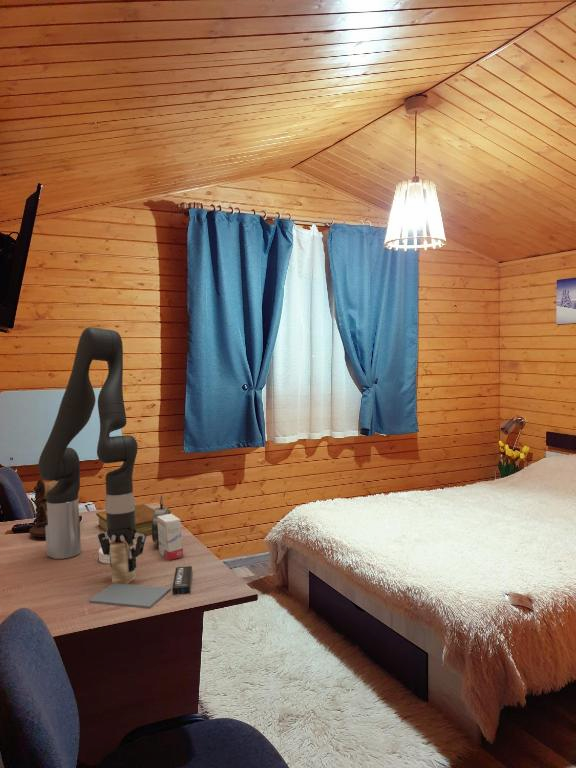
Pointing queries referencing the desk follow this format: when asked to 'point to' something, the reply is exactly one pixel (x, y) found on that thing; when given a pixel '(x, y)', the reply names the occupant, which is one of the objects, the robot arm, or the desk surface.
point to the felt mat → (130, 595)
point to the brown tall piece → (41, 508)
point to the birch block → (120, 563)
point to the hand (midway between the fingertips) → (123, 569)
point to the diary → (141, 519)
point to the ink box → (170, 536)
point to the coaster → (103, 557)
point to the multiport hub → (182, 580)
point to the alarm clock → (157, 512)
